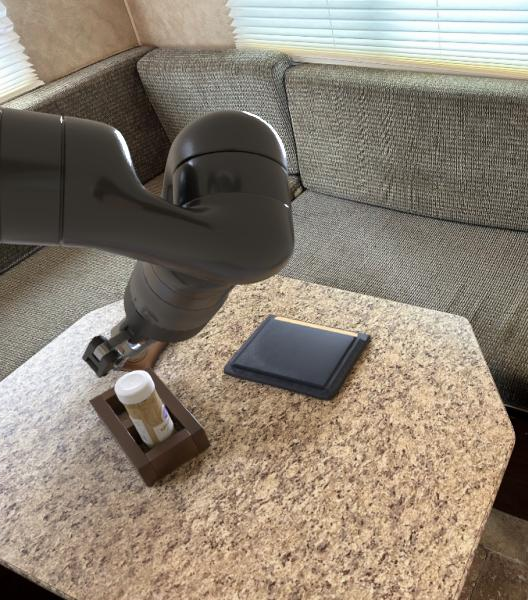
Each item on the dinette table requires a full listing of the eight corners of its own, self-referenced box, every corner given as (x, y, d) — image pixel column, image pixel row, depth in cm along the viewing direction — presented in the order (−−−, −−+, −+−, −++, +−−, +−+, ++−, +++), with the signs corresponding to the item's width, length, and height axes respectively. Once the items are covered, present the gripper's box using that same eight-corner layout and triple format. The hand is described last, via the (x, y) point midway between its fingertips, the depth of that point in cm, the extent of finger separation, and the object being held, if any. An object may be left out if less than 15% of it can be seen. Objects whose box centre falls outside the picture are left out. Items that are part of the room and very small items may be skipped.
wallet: (217, 365, 96) (270, 306, 106) (220, 373, 97) (272, 314, 108) (327, 396, 89) (372, 330, 99) (329, 405, 90) (373, 338, 100)
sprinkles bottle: (184, 451, 85) (152, 386, 77) (151, 465, 84) (115, 400, 76) (179, 429, 89) (147, 364, 80) (147, 441, 87) (111, 377, 79)
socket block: (147, 487, 81) (137, 470, 79) (99, 418, 92) (88, 400, 89) (211, 445, 86) (203, 427, 83) (158, 383, 96) (149, 366, 94)
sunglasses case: (150, 372, 98) (118, 344, 95) (126, 383, 101) (95, 356, 99) (203, 302, 111) (177, 276, 108) (180, 314, 115) (154, 289, 112)
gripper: (216, 212, 55) (179, 275, 68) (70, 297, 46) (60, 350, 59) (269, 277, 55) (222, 327, 68) (135, 373, 47) (111, 408, 60)
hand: (147, 337), depth 64 cm, fingers open, 8 cm apart
